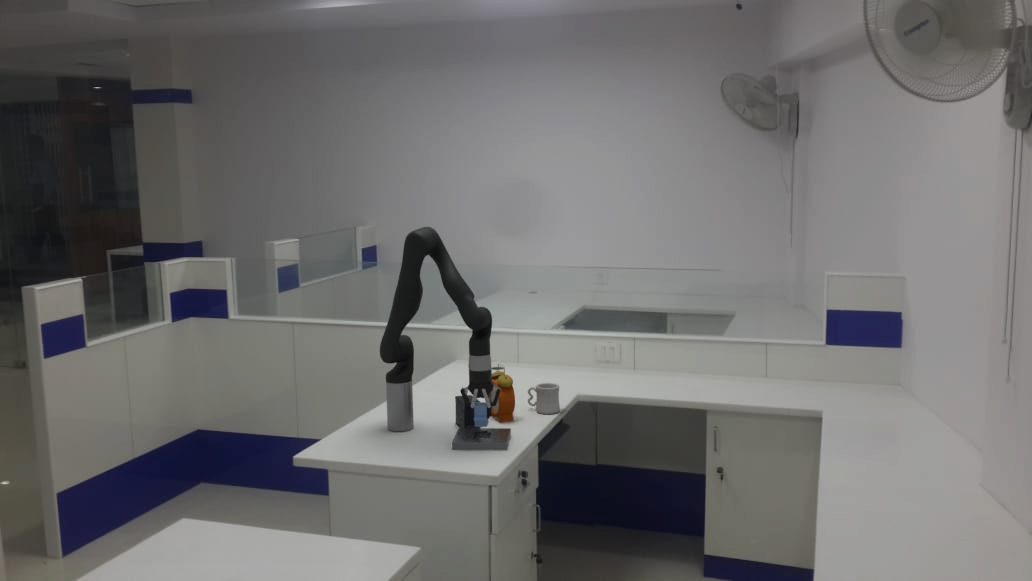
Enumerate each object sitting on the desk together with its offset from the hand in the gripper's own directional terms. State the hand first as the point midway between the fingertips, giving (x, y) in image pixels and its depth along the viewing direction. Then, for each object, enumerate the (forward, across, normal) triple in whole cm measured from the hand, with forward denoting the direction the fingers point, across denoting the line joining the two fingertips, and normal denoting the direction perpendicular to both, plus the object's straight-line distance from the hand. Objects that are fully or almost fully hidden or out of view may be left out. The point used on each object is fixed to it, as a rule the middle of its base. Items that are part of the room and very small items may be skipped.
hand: (481, 417), depth 288 cm
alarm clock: (+9, -4, -29) cm, 31 cm away
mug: (+9, -19, -40) cm, 45 cm away
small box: (+9, +7, -18) cm, 22 cm away
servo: (+2, 0, 0) cm, 2 cm away
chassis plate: (+9, 0, 0) cm, 9 cm away
